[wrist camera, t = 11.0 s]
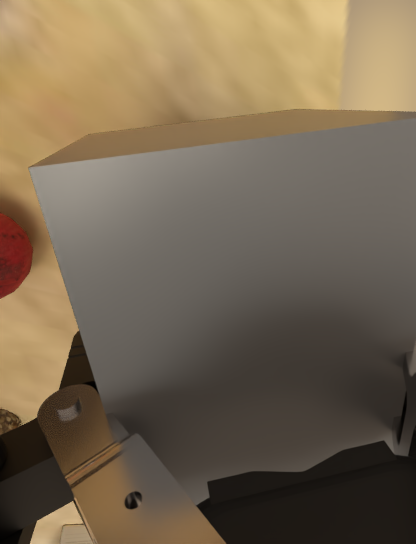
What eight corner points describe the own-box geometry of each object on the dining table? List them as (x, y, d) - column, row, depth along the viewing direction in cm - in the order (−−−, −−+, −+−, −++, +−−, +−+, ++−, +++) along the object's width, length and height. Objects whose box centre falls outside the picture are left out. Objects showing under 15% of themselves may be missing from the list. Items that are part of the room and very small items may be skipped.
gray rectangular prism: (294, 384, 17) (379, 537, 11) (153, 414, 16) (161, 594, 10) (296, 109, 12) (457, 112, 6) (89, 134, 11) (28, 167, 5)
